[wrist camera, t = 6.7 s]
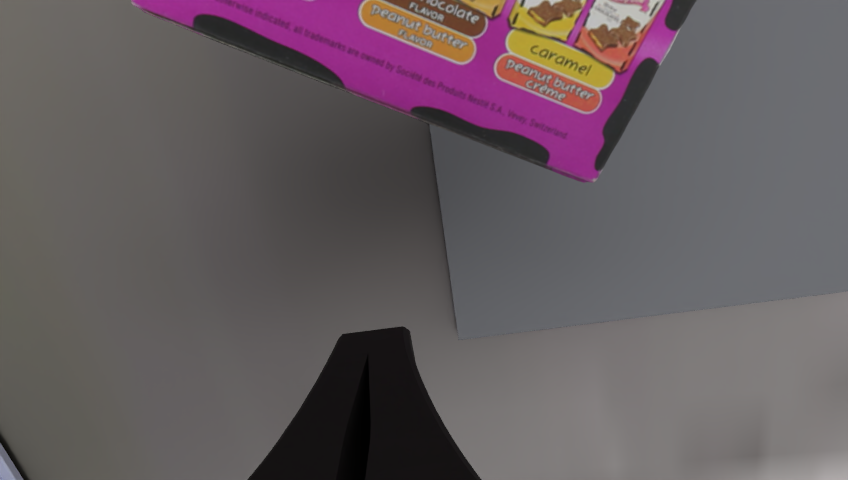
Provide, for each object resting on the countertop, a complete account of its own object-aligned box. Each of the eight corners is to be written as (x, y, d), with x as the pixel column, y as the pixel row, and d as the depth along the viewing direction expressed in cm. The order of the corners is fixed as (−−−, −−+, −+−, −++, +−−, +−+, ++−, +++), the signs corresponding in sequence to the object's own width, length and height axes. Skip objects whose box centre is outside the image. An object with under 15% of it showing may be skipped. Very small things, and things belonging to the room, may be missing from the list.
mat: (457, 329, 25) (458, 340, 24) (405, -48, 18) (406, -45, 18) (870, 277, 24) (881, 287, 24) (967, -131, 18) (985, -131, 17)
